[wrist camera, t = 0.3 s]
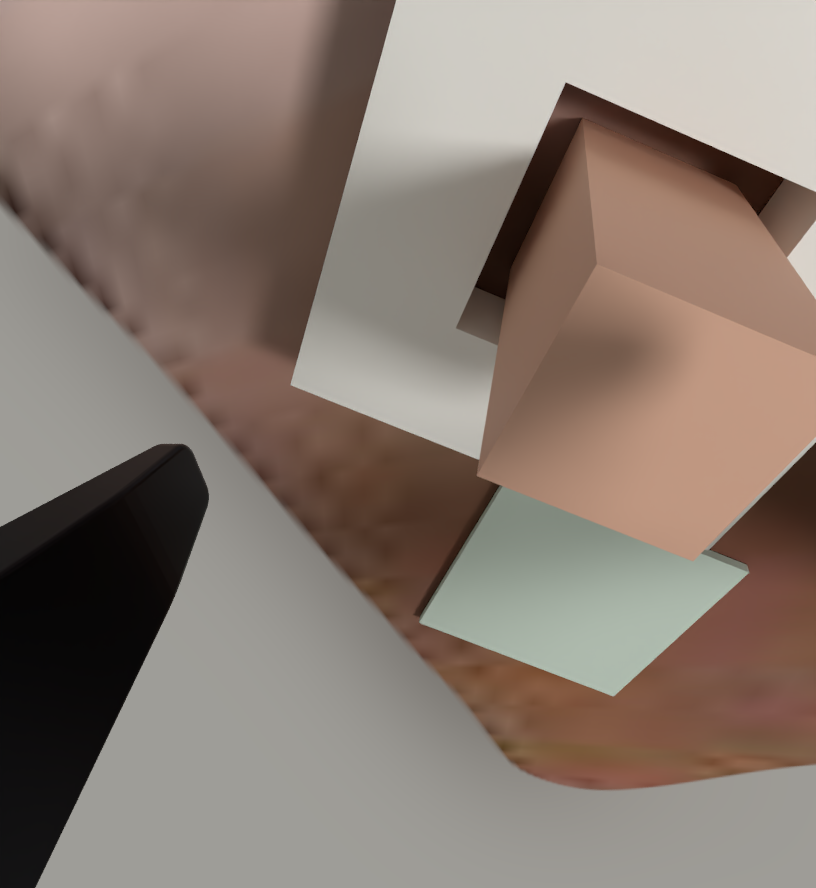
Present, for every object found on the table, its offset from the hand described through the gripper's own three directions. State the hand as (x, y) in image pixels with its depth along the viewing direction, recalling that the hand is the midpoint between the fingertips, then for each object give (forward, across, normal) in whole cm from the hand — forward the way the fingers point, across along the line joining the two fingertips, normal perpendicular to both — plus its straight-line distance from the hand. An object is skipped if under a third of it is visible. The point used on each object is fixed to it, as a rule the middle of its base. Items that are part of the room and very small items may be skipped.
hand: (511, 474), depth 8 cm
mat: (+13, 0, +17) cm, 22 cm away
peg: (+13, -2, +1) cm, 13 cm away
